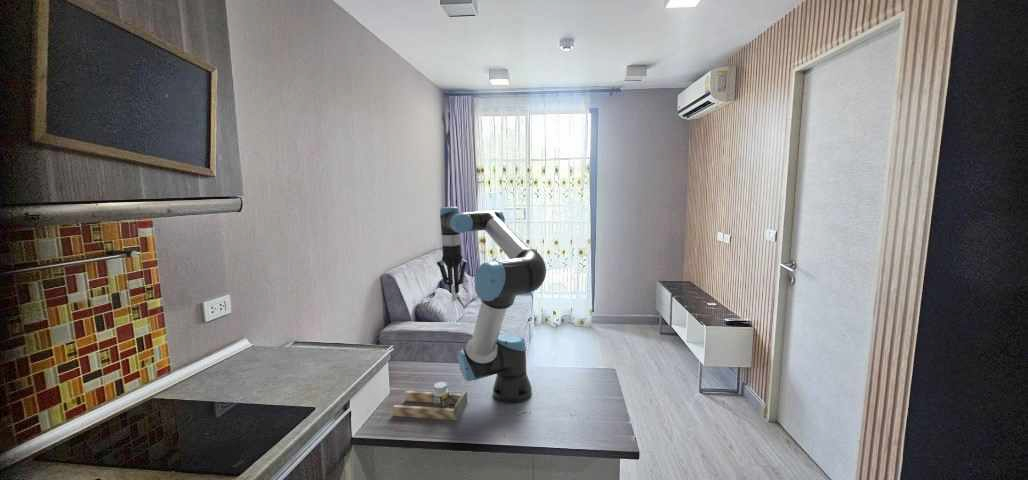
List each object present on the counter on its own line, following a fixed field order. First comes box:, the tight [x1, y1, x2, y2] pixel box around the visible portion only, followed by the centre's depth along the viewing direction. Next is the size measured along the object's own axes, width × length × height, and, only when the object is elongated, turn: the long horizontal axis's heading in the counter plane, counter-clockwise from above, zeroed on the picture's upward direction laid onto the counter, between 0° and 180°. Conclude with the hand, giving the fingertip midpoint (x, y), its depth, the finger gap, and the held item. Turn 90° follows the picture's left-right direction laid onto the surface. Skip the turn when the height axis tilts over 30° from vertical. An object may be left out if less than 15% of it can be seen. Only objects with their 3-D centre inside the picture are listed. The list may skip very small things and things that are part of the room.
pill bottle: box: [432, 381, 451, 409], centre depth 146 cm, size 6×6×10 cm
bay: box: [392, 390, 468, 421], centre depth 147 cm, size 24×11×5 cm, turn 80°
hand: (454, 300), depth 166 cm, fingers closed
